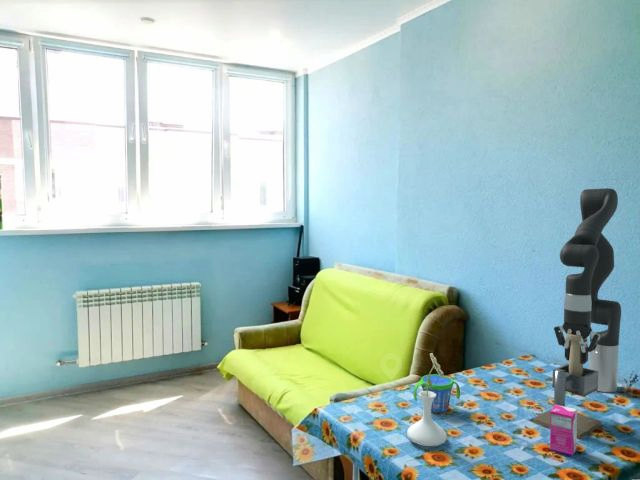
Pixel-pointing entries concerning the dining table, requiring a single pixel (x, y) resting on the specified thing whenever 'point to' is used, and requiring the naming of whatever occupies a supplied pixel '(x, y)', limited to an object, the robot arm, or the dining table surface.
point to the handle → (575, 355)
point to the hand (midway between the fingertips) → (575, 361)
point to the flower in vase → (428, 417)
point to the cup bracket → (576, 386)
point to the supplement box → (563, 430)
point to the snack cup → (438, 391)
